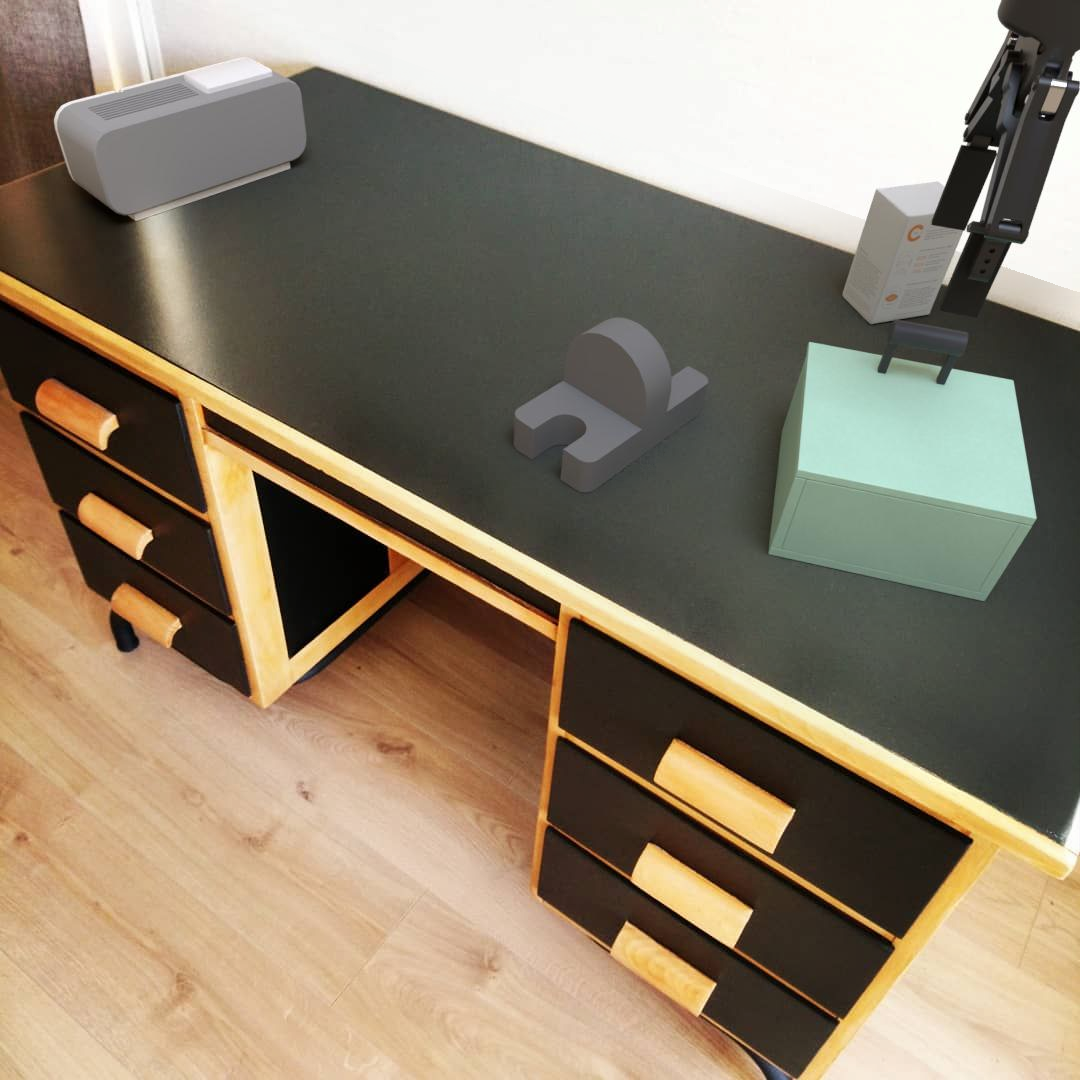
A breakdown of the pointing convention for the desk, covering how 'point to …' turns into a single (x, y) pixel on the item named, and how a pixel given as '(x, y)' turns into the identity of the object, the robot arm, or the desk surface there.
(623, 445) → the bracket
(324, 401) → the desk surface
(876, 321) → the small box
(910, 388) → the lid
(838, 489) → the compartment
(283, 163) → the alarm clock
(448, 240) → the desk surface
